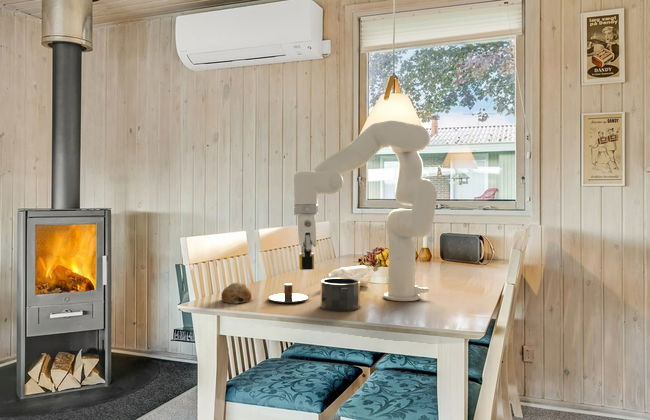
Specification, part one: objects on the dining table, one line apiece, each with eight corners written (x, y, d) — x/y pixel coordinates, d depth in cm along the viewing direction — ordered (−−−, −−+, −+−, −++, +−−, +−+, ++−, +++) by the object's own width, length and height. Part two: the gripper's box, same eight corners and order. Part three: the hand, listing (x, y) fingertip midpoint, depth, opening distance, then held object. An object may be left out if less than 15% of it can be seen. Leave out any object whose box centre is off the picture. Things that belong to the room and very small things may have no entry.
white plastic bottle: (320, 288, 203) (320, 268, 203) (358, 283, 214) (358, 264, 214) (332, 291, 197) (332, 270, 197) (371, 286, 208) (371, 266, 207)
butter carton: (312, 267, 167) (312, 252, 167) (314, 269, 163) (313, 254, 163) (299, 268, 166) (298, 253, 166) (300, 269, 163) (299, 254, 163)
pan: (353, 300, 180) (353, 276, 180) (364, 312, 162) (364, 285, 162) (318, 301, 178) (318, 276, 178) (324, 313, 161) (324, 286, 161)
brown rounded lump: (224, 314, 174) (227, 294, 171) (216, 296, 182) (219, 277, 179) (252, 311, 178) (256, 292, 175) (244, 294, 186) (247, 275, 183)
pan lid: (305, 296, 188) (305, 280, 188) (309, 304, 174) (309, 287, 174) (268, 296, 186) (268, 281, 186) (269, 304, 173) (269, 288, 173)
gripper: (321, 211, 156) (321, 272, 157) (314, 209, 173) (315, 264, 174) (296, 211, 155) (296, 273, 156) (292, 209, 172) (292, 264, 173)
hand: (306, 267), depth 165 cm, fingers closed on butter carton, 3 cm apart
